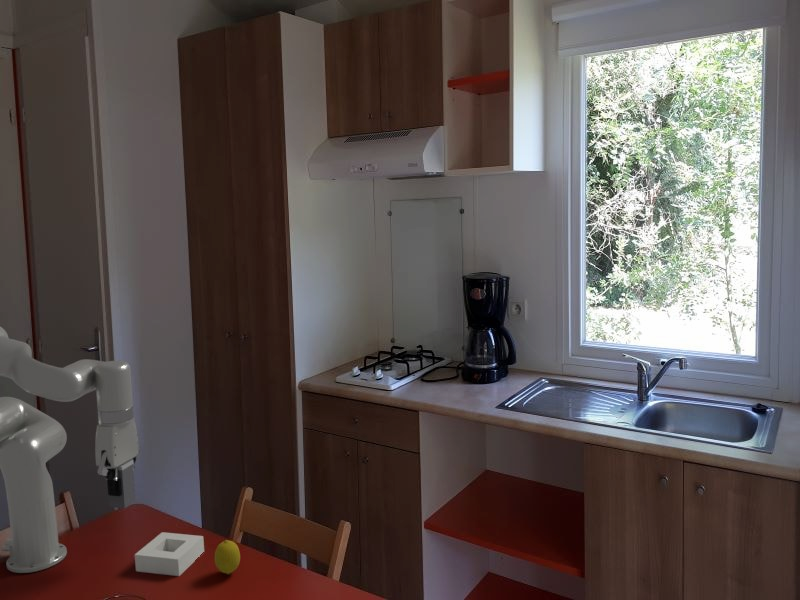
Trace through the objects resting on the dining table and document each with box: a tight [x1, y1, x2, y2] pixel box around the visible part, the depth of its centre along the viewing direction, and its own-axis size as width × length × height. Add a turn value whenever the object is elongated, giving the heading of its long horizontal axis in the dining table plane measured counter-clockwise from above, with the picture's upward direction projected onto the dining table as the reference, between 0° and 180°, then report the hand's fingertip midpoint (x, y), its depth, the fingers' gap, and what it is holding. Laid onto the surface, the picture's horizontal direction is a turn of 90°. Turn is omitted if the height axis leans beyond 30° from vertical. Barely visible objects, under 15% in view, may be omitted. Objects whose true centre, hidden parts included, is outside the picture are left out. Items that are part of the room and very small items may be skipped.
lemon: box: [214, 539, 241, 575], centre depth 153 cm, size 6×6×8 cm
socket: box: [134, 531, 205, 577], centre depth 159 cm, size 11×11×4 cm
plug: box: [108, 460, 136, 509], centre depth 159 cm, size 4×4×11 cm
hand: (121, 490), depth 159 cm, fingers closed on plug, 4 cm apart
